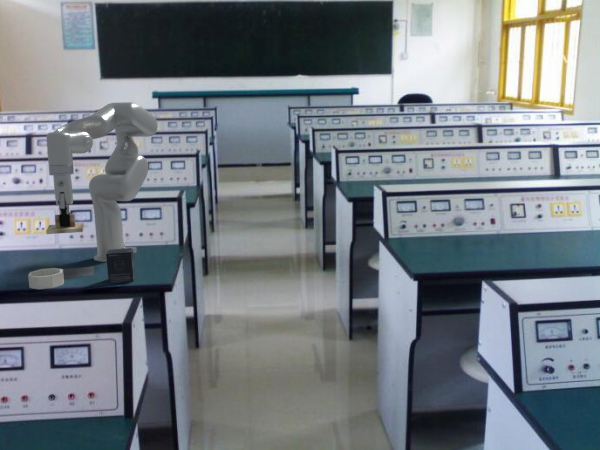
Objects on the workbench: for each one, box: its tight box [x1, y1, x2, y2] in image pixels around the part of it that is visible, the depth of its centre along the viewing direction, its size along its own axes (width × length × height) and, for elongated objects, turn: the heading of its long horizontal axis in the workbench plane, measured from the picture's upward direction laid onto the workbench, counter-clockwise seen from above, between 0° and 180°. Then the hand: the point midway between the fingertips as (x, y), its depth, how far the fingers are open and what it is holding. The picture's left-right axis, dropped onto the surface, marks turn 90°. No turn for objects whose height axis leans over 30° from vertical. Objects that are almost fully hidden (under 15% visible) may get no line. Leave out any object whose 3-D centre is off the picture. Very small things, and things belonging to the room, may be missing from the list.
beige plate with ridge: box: [46, 213, 85, 235], centre depth 205 cm, size 11×11×5 cm
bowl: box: [27, 267, 65, 290], centre depth 197 cm, size 10×10×4 cm
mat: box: [62, 266, 95, 279], centre depth 211 cm, size 12×12×1 cm
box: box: [106, 247, 136, 284], centre depth 200 cm, size 8×6×11 cm
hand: (65, 225), depth 205 cm, fingers closed on beige plate with ridge
